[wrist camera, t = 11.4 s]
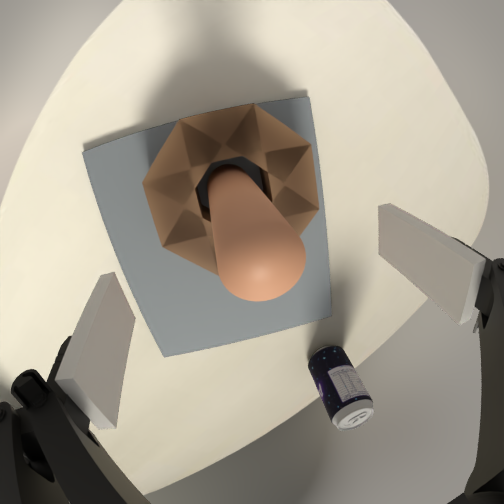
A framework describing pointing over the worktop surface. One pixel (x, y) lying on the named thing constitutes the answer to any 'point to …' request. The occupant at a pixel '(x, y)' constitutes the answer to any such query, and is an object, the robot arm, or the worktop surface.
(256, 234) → the tan round-topped peg
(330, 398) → the beverage can
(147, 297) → the mat
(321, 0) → the worktop surface
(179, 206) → the bead
